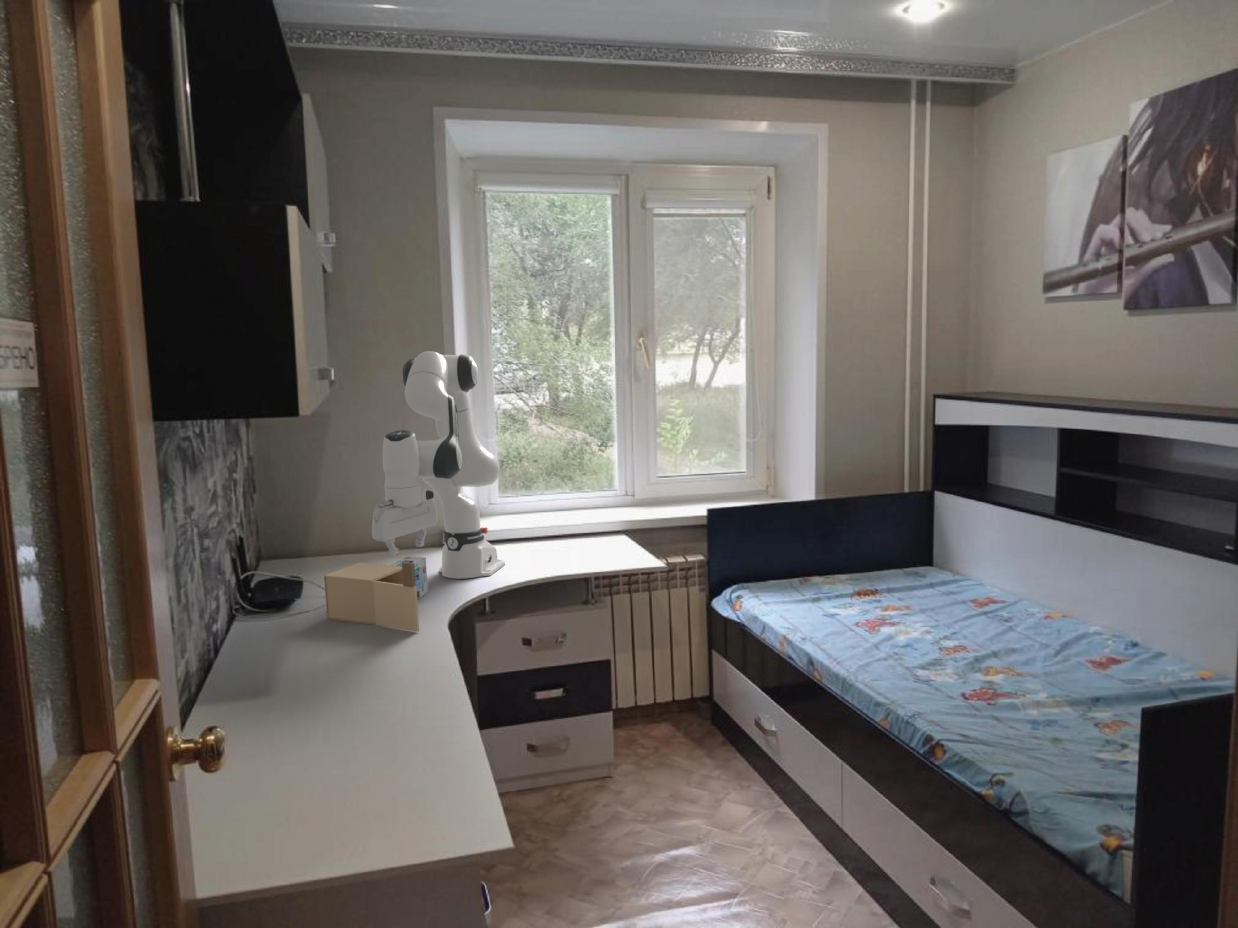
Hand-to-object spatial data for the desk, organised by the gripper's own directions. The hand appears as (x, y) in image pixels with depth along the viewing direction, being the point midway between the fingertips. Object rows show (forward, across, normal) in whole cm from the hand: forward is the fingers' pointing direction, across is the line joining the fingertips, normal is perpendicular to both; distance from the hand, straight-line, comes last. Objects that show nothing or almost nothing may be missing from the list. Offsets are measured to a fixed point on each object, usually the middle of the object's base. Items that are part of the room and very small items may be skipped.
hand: (407, 550), depth 213 cm
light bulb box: (+22, +23, +21) cm, 38 cm away
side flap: (+21, 0, +5) cm, 21 cm away
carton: (+21, +6, +21) cm, 30 cm away
